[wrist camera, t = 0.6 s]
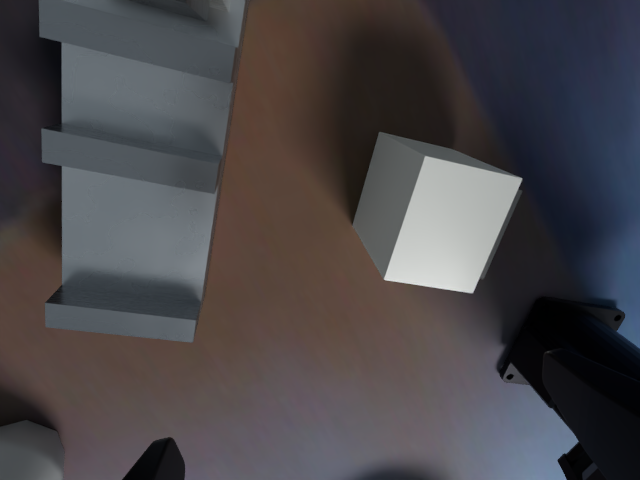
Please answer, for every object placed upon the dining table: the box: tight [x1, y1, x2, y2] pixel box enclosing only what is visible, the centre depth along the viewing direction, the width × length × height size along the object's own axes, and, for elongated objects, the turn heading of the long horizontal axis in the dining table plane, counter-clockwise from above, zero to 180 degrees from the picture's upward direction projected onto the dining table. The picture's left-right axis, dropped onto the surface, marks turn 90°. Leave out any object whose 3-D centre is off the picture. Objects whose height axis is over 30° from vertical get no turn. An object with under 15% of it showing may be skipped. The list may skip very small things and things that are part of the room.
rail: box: [39, 0, 249, 342], centre depth 13 cm, size 6×20×8 cm, turn 167°
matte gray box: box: [352, 132, 523, 293], centre depth 18 cm, size 5×5×6 cm
